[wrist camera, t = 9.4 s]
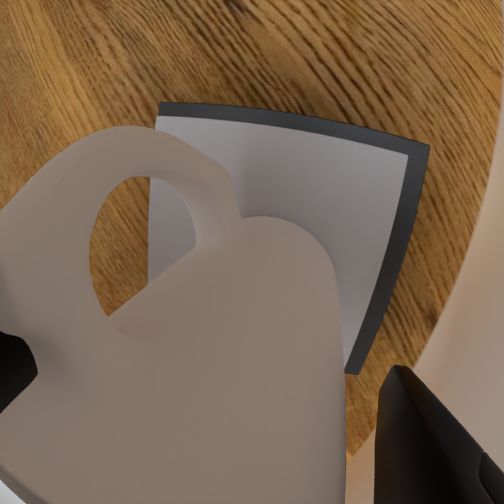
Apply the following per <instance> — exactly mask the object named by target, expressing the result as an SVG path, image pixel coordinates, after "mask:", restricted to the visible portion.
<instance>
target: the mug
mask: <svg viewBox="0 0 504 504" xmlns="http://www.w3.org/2000/svg"><path fill="white" fill-rule="evenodd" d="M130 177H151V178H156V179H159V180H161V181H164V182H166V183H167V184H169V185H170V186H171V187H172V188H173V189H174V190H175V191H176V192H177V193H178V194H179V195H180V196H181V198H182V199H183V200H184V202H185V204H186V205H187V207H188V209H189V212H190V215H191V218H192V221H193V225H194V228H195V234H196V244H195V247H194V249H192V250H191V251H190V252H188V253H187V254H186V255H185V256H183V257H182V258H181V259H180V260H178V261H177V262H176V263H175V264H173V265H172V266H171V267H170V268H168V269H167V270H166V271H165V272H163V273H162V274H161V275H160V276H158V277H157V278H156V279H155V280H153V281H152V282H151V283H150V284H148V285H147V286H146V287H145V288H143V289H142V290H141V291H140V292H138V293H137V294H136V295H135V296H133V297H132V298H131V299H130V300H128V301H127V302H126V303H125V304H123V305H122V306H121V307H120V308H119V309H117V310H116V311H115V312H114V313H112V314H111V315H110V316H109V317H107V315H106V314H105V312H104V311H103V310H102V307H101V305H100V303H99V300H98V298H97V296H96V293H95V291H94V289H93V284H92V279H91V274H90V268H89V247H90V237H91V234H92V230H93V227H94V223H95V220H96V217H97V215H98V213H99V211H100V209H101V207H102V205H103V203H104V201H105V200H106V198H107V197H108V195H109V194H110V193H111V192H112V191H113V190H114V189H115V188H116V187H117V186H118V185H119V184H120V183H121V182H123V181H124V180H126V179H127V178H130ZM0 331H2V332H3V333H6V334H10V335H15V336H19V337H20V338H22V339H24V340H25V342H26V343H27V344H28V345H29V347H30V349H31V351H32V354H33V355H34V358H35V362H36V365H37V369H38V377H37V378H36V379H35V380H34V381H33V382H32V383H31V384H30V385H29V386H28V387H27V388H26V389H25V390H23V391H22V392H21V393H20V394H19V395H18V396H17V397H16V398H15V399H14V400H13V401H12V402H11V403H10V404H9V405H8V406H7V407H6V408H5V409H4V410H3V412H2V413H1V414H0V480H1V481H2V482H3V483H4V484H5V485H6V486H7V487H8V488H10V490H11V491H13V492H14V493H15V494H16V495H17V496H18V497H19V498H20V499H22V500H23V501H24V502H25V503H26V504H345V484H346V483H345V482H346V400H345V375H344V356H343V340H342V325H341V311H340V301H339V293H338V286H337V279H336V274H335V270H334V266H333V264H332V261H331V259H330V257H329V255H328V253H327V252H326V250H325V249H324V247H323V246H322V245H321V243H320V242H319V241H318V240H317V239H316V238H315V237H314V236H313V235H312V234H310V233H309V232H308V231H306V230H305V229H303V228H302V227H300V226H298V225H296V224H294V223H292V222H290V221H287V220H284V219H280V218H276V217H268V216H254V217H247V218H243V219H242V217H241V215H240V212H239V209H238V205H237V202H236V198H235V194H234V190H233V185H232V181H231V178H230V176H229V173H228V172H227V170H226V169H225V168H224V167H222V166H221V165H219V164H218V163H216V162H214V161H213V160H211V159H210V158H208V157H207V156H205V155H204V154H202V153H201V152H199V151H198V150H196V149H195V148H193V147H192V146H190V145H188V144H187V143H185V142H183V141H182V140H180V139H178V138H176V137H174V136H172V135H170V134H167V133H165V132H162V131H158V130H155V129H152V128H147V127H143V126H134V125H124V126H116V127H110V128H106V129H102V130H99V131H97V132H94V133H92V134H90V135H87V136H85V137H84V138H82V139H80V140H78V141H76V142H75V143H73V144H72V145H70V146H69V147H67V148H66V149H64V150H63V151H61V152H60V153H59V154H57V155H56V156H55V157H54V158H52V159H51V160H50V161H49V162H47V163H46V164H45V165H44V166H43V167H42V168H41V169H40V170H39V171H38V172H37V173H36V174H35V175H34V176H33V177H32V178H31V179H30V180H29V181H28V182H27V183H26V184H25V185H24V186H23V187H22V188H21V189H20V190H19V191H18V193H17V194H16V195H15V196H14V197H13V198H12V199H11V200H10V201H9V202H8V204H7V205H6V206H5V207H4V208H3V209H2V210H1V211H0Z"/></svg>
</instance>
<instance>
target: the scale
mask: <svg viewBox="0 0 504 504" xmlns="http://www.w3.org/2000/svg"><path fill="white" fill-rule="evenodd" d="M155 130H158V131H162V132H165V133H167V134H170V135H172V136H174V137H176V138H178V139H180V140H182V141H183V142H185V143H187V144H188V145H190V146H192V147H193V148H195V149H196V150H198V151H199V152H201V153H202V154H204V155H205V156H207V157H208V158H210V159H211V160H213V161H214V162H216V163H218V164H219V165H221V166H222V167H224V168H225V169H226V170H227V172H228V173H229V176H230V178H231V181H232V185H233V190H234V194H235V198H236V202H237V205H238V209H239V212H240V215H241V217H242V219H243V218H247V217H254V216H268V217H276V218H280V219H284V220H287V221H290V222H292V223H294V224H296V225H298V226H300V227H302V228H303V229H305V230H306V231H308V232H309V233H310V234H312V235H313V236H314V237H315V238H316V239H317V240H318V241H319V242H320V243H321V245H322V246H323V247H324V249H325V250H326V252H327V253H328V255H329V257H330V259H331V261H332V264H333V266H334V270H335V274H336V279H337V286H338V293H339V301H340V311H341V325H342V340H343V356H344V373H348V374H354V375H359V373H360V370H361V368H362V366H363V364H364V362H365V359H366V357H367V355H368V352H369V350H370V348H371V345H372V343H373V341H374V338H375V336H376V333H377V332H378V330H379V327H380V325H381V322H382V320H383V317H384V314H385V312H386V309H387V306H388V304H389V301H390V298H391V295H392V293H393V290H394V287H395V284H396V281H397V278H398V275H399V272H400V269H401V266H402V263H403V259H404V256H405V253H406V250H407V246H408V243H409V239H410V236H411V232H412V229H413V225H414V221H415V218H416V214H417V207H418V203H419V199H420V194H421V190H422V186H423V181H424V176H425V172H426V167H427V161H428V156H429V151H430V145H427V144H424V143H421V142H418V141H414V140H411V139H407V138H404V137H400V136H397V135H393V134H389V133H386V132H382V131H378V130H374V129H370V128H366V127H362V126H357V125H353V124H348V123H344V122H339V121H334V120H329V119H324V118H318V117H313V116H307V115H301V114H295V113H289V112H282V111H275V110H267V109H259V108H251V107H241V106H231V105H219V104H205V103H185V102H160V107H159V115H158V116H156V123H155ZM195 244H196V234H195V228H194V225H193V221H192V218H191V215H190V212H189V209H188V207H187V205H186V204H185V202H184V200H183V199H182V198H181V196H180V195H179V194H178V193H177V192H176V191H175V190H174V189H173V188H172V187H171V186H170V185H169V184H167V183H166V182H164V181H161V180H159V179H156V178H151V180H150V197H149V220H148V284H150V283H151V282H152V281H153V280H155V279H156V278H157V277H158V276H160V275H161V274H162V273H163V272H165V271H166V270H167V269H168V268H170V267H171V266H172V265H173V264H175V263H176V262H177V261H178V260H180V259H181V258H182V257H183V256H185V255H186V254H187V253H188V252H190V251H191V250H192V249H194V247H195Z"/></svg>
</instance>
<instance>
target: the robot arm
mask: <svg viewBox="0 0 504 504" xmlns="http://www.w3.org/2000/svg"><path fill="white" fill-rule="evenodd" d="M37 375H38V369H37V365H36V362H35V358H34V355H33V354H32V351H31V349H30V347H29V345H28V344H27V343H26V342H25V340H24V339H22V338H20V337H19V336H15V335H10V334H6V333H3V332H2V331H0V414H1V413H2V412H3V410H4V409H5V408H6V407H7V406H8V405H9V404H10V403H11V402H12V401H13V400H14V399H15V398H16V397H17V396H18V395H19V394H20V393H21V392H22V391H23V390H25V389H26V388H27V387H28V386H29V385H30V384H31V382H32V381H33V380H34V378H35V377H36V376H37ZM483 451H484V450H483V449H482V448H481V446H480V445H479V444H478V443H477V442H476V441H475V440H474V438H473V437H472V436H471V435H470V434H469V433H468V432H467V431H466V429H465V428H464V427H463V426H462V425H461V424H460V423H459V422H458V420H457V419H456V418H455V417H454V416H453V415H452V414H451V413H450V412H449V410H447V408H446V407H445V406H444V405H443V404H442V403H441V402H440V401H439V399H438V398H437V397H436V396H435V395H434V394H433V393H432V392H431V391H430V390H429V389H428V388H427V386H426V385H425V384H424V383H423V382H422V381H421V380H420V379H419V378H418V377H417V376H416V375H415V374H414V372H413V371H412V370H411V369H410V368H409V367H407V366H401V365H394V366H392V367H391V369H390V371H389V373H388V375H387V377H386V379H385V380H384V382H383V384H382V386H381V388H380V391H379V399H378V413H377V425H376V436H375V478H374V480H375V481H374V504H504V473H503V471H501V469H500V468H499V467H498V466H497V465H496V464H495V462H494V461H493V460H492V459H491V458H490V457H489V456H488V454H487V453H486V452H483Z"/></svg>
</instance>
